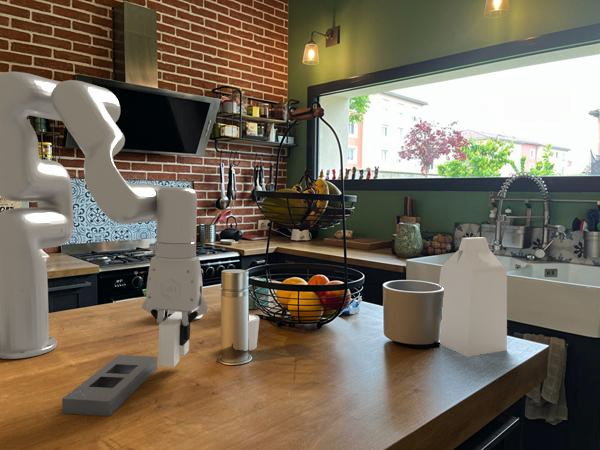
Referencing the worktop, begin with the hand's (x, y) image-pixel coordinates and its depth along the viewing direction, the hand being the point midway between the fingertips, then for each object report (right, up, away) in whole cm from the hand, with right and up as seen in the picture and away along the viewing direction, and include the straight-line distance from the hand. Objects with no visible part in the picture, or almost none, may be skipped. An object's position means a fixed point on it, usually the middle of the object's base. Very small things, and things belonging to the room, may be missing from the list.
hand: (174, 341), depth 94 cm
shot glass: (+12, -6, +16) cm, 21 cm away
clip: (0, -3, 0) cm, 3 cm away
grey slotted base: (-9, -7, -7) cm, 13 cm away
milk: (+65, -6, +20) cm, 69 cm away
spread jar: (-8, -3, +41) cm, 42 cm away
